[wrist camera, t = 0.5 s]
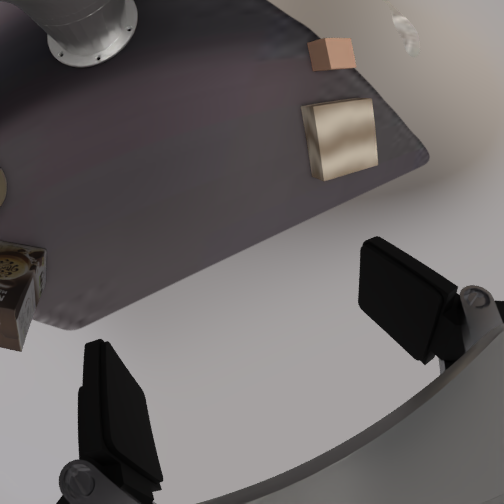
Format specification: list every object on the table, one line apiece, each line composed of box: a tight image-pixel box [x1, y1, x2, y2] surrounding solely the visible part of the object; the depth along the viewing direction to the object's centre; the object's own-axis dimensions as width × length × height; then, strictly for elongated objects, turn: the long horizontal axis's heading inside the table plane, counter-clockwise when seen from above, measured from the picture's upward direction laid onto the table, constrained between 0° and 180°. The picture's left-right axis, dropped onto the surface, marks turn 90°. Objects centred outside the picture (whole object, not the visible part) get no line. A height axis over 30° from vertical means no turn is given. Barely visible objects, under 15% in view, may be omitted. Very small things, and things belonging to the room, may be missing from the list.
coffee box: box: [0, 241, 46, 352], centre depth 29 cm, size 9×6×16 cm
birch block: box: [301, 98, 378, 181], centre depth 45 cm, size 12×12×4 cm
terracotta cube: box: [307, 38, 356, 71], centre depth 38 cm, size 5×5×5 cm
